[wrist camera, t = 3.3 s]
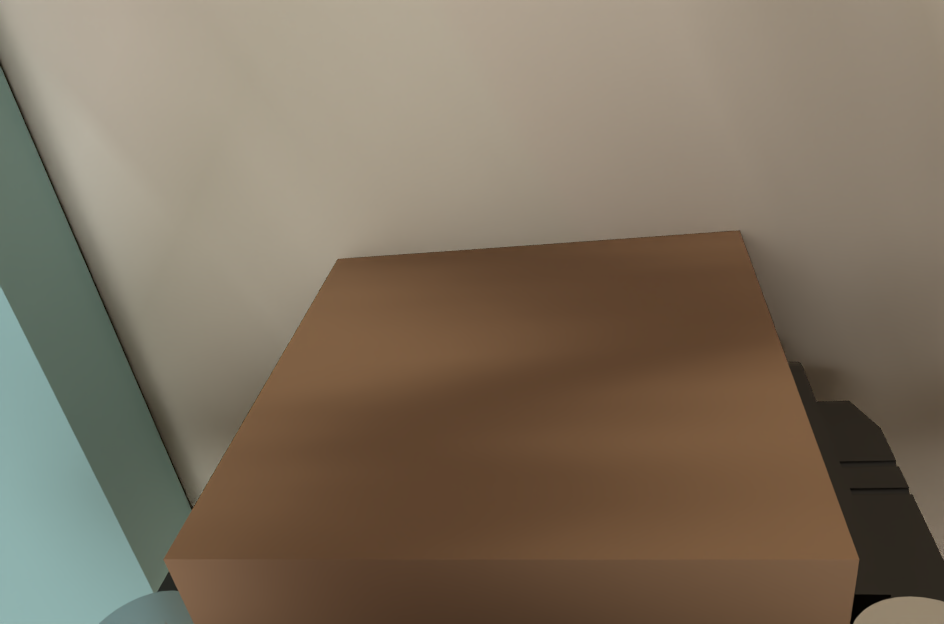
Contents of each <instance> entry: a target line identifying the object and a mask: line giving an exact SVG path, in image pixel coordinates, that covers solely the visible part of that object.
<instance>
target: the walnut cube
mask: <svg viewBox="0 0 944 624" xmlns="http://www.w3.org/2000/svg"><path fill="white" fill-rule="evenodd" d="M163 560H164V562H165V564H166V566H167V568H168V570H169V573H170V575H171V577H172V579H173V581H174V583H175V585H176V587H177V589H178V591H179V593H180V596H181V598H182V600H183V602H184V604H185V606H186V608H187V610H188V612H189V614H190V616H191V619H192V621H193V623H194V624H850V620H851V613H852V606H853V599H854V593H855V586H856V579H857V572H858V565H859V557H858V554H857V552H856V549H855V546H854V544H853V541H852V538H851V535H850V533H849V530H848V527H847V524H846V522H845V519H844V516H843V513H842V511H841V508H840V505H839V502H838V500H837V497H836V494H835V491H834V489H833V486H832V483H831V480H830V478H829V475H828V472H827V469H826V467H825V464H824V461H823V458H822V456H821V453H820V450H819V447H818V445H817V442H816V439H815V436H814V434H813V431H812V428H811V425H810V423H809V420H808V417H807V414H806V412H805V409H804V406H803V403H802V401H801V398H800V395H799V392H798V390H797V387H796V384H795V381H794V379H793V376H792V373H791V370H790V368H789V365H788V362H787V359H786V357H785V354H784V351H783V348H782V346H781V343H780V340H779V337H778V335H777V332H776V329H775V326H774V324H773V321H772V318H771V315H770V313H769V310H768V307H767V304H766V302H765V299H764V296H763V293H762V291H761V288H760V285H759V282H758V280H757V277H756V274H755V271H754V269H753V266H752V263H751V260H750V258H749V255H748V252H747V249H746V247H745V244H744V241H743V238H742V236H741V233H740V231H726V232H712V233H698V234H684V235H669V236H655V237H641V238H627V239H613V240H599V241H585V242H571V243H557V244H543V245H529V246H515V247H500V248H486V249H472V250H458V251H444V252H430V253H416V254H402V255H388V256H374V257H360V258H346V259H338V260H337V261H336V263H335V265H334V266H333V268H332V270H331V272H330V273H329V275H328V277H327V278H326V280H325V282H324V284H323V285H322V287H321V289H320V290H319V292H318V294H317V296H316V297H315V299H314V301H313V303H312V304H311V306H310V308H309V309H308V311H307V313H306V315H305V316H304V318H303V320H302V321H301V323H300V325H299V327H298V328H297V330H296V332H295V334H294V335H293V337H292V339H291V340H290V342H289V344H288V346H287V347H286V349H285V351H284V352H283V354H282V356H281V358H280V359H279V361H278V363H277V365H276V366H275V368H274V370H273V371H272V373H271V375H270V377H269V378H268V380H267V382H266V383H265V385H264V387H263V389H262V390H261V392H260V394H259V395H258V397H257V399H256V401H255V402H254V404H253V406H252V408H251V409H250V411H249V413H248V414H247V416H246V418H245V420H244V421H243V423H242V425H241V426H240V428H239V430H238V432H237V433H236V435H235V437H234V439H233V440H232V442H231V444H230V445H229V447H228V449H227V451H226V452H225V454H224V456H223V457H222V459H221V461H220V463H219V464H218V466H217V468H216V470H215V471H214V473H213V475H212V476H211V478H210V480H209V482H208V483H207V485H206V487H205V488H204V490H203V492H202V494H201V495H200V497H199V499H198V501H197V502H196V504H195V506H194V507H193V509H192V511H191V513H190V514H189V516H188V518H187V519H186V521H185V523H184V525H183V526H182V528H181V530H180V531H179V533H178V535H177V537H176V538H175V540H174V542H173V544H172V545H171V547H170V549H169V550H168V552H167V554H166V556H165V557H164V559H163Z"/></svg>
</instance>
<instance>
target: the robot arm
mask: <svg viewBox="0 0 944 624" xmlns="http://www.w3.org/2000/svg"><path fill="white" fill-rule="evenodd" d="M788 365H789V368H790V370H791V373H792V376H793V379H794V381H795V384H796V387H797V390H798V392H799V395H800V398H801V401H802V403H803V406H804V409H805V412H806V414H807V417H808V420H809V423H810V425H811V428H812V431H813V434H814V436H815V439H816V442H817V445H818V447H819V450H820V453H821V456H822V458H823V461H824V464H825V467H826V469H827V472H828V475H829V478H830V480H831V483H832V486H833V489H834V491H835V494H836V497H837V500H838V502H839V505H840V508H841V511H842V513H843V516H844V519H845V522H846V524H847V527H848V530H849V533H850V535H851V538H852V541H853V544H854V546H855V549H856V552H857V554H858V557H859V565H858V572H857V579H856V586H855V593H854V599H853V606H852V613H851V620H850V624H944V560H943V558H942V556H941V554H940V552H939V550H938V548H937V546H936V543H935V541H934V539H933V537H932V535H931V533H930V531H929V529H928V527H927V525H926V522H925V520H924V518H923V516H922V514H921V512H920V510H919V508H918V506H917V504H916V502H915V499H914V497H913V495H910V494H909V487H908V485H907V483H906V481H905V478H904V476H903V474H902V472H901V470H900V468H899V467H897V466H896V460H895V457H894V455H893V453H892V451H891V449H890V447H889V445H888V443H887V441H886V439H885V437H884V434H883V432H882V430H881V428H880V427H879V426H878V425H876V424H875V423H874V422H873V421H872V420H871V419H869V418H868V417H867V416H866V415H865V414H864V413H862V412H861V411H860V410H859V409H858V408H857V407H855V406H854V405H853V404H852V403H851V402H850V401H831V402H816V400H815V397H814V395H813V392H812V389H811V387H810V384H809V382H808V379H807V377H806V374H805V371H804V369H803V367H802V365H801V363H799V362H789V363H788ZM99 624H194V623H193V621H192V619H191V616H190V614H189V612H188V610H187V608H186V606H185V604H184V602H183V600H182V598H181V596H180V593H179V591H178V589H177V587H176V585H175V583H174V581H173V579H172V577H171V575H170V573H169V572H168V573H167V575H166V577H165V579H164V581H163V582H162V584H161V586H160V588H159V589H158V591H157V592H156V593H151V594H148V595H145V596H142V597H139V598H137V599H135V600H132V601H130V602H128V603H126V604H125V605H123V606H121V607H120V608H118V609H116V610H115V611H114V612H112V613H111V614H110V615H108V616H107V617H106V618H105V619H103V620H102V621H101V622H100V623H99Z"/></svg>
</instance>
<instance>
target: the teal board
mask: <svg viewBox="0 0 944 624" xmlns="http://www.w3.org/2000/svg"><path fill="white" fill-rule="evenodd" d="M191 511H192V510H191V507H190V505H189V503H188V500H187V498H186V496H185V494H184V491H183V489H182V487H181V484H180V482H179V480H178V477H177V475H176V473H175V470H174V468H173V466H172V463H171V461H170V459H169V456H168V454H167V452H166V449H165V447H164V445H163V442H162V440H161V438H160V436H159V433H158V431H157V429H156V426H155V424H154V422H153V419H152V417H151V415H150V412H149V410H148V408H147V405H146V403H145V401H144V398H143V396H142V394H141V391H140V389H139V387H138V384H137V382H136V380H135V378H134V375H133V373H132V371H131V368H130V366H129V364H128V361H127V359H126V357H125V354H124V352H123V350H122V347H121V345H120V343H119V340H118V338H117V336H116V333H115V331H114V329H113V326H112V324H111V322H110V320H109V317H108V315H107V313H106V310H105V308H104V306H103V303H102V301H101V299H100V296H99V294H98V292H97V289H96V287H95V285H94V282H93V280H92V278H91V275H90V273H89V271H88V268H87V266H86V264H85V262H84V259H83V257H82V255H81V252H80V250H79V248H78V245H77V243H76V241H75V238H74V236H73V234H72V231H71V229H70V227H69V224H68V222H67V220H66V217H65V215H64V213H63V210H62V208H61V206H60V204H59V201H58V199H57V197H56V194H55V192H54V190H53V187H52V185H51V183H50V180H49V178H48V176H47V173H46V171H45V169H44V166H43V164H42V162H41V159H40V157H39V155H38V152H37V150H36V148H35V146H34V143H33V141H32V139H31V136H30V134H29V132H28V129H27V127H26V125H25V122H24V120H23V118H22V115H21V113H20V111H19V108H18V106H17V104H16V101H15V99H14V97H13V94H12V92H11V90H10V88H9V85H8V83H7V81H6V78H5V76H4V74H3V71H2V69H1V67H0V624H99V623H100V622H101V621H102V620H103V619H105V618H106V617H107V616H108V615H110V614H111V613H112V612H114V611H115V610H116V609H118V608H120V607H121V606H123V605H125V604H126V603H128V602H130V601H132V600H135V599H137V598H139V597H142V596H145V595H148V594H151V593H156V592H157V591H158V589H159V588H160V586H161V584H162V582H163V581H164V579H165V577H166V575H167V573H168V572H169V570H168V568H167V566H166V564H165V562H164V560H163V559H164V557H165V556H166V554H167V552H168V550H169V549H170V547H171V545H172V544H173V542H174V540H175V538H176V537H177V535H178V533H179V531H180V530H181V528H182V526H183V525H184V523H185V521H186V519H187V518H188V516H189V514H190V513H191Z"/></svg>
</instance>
